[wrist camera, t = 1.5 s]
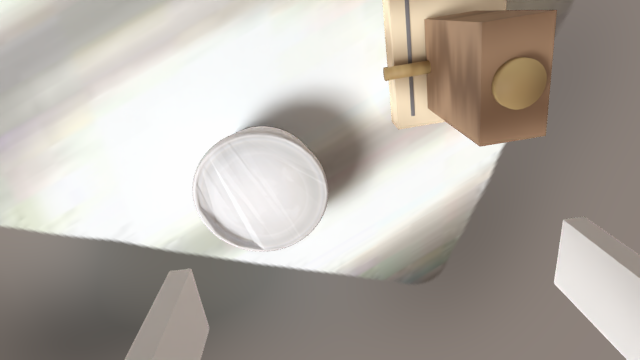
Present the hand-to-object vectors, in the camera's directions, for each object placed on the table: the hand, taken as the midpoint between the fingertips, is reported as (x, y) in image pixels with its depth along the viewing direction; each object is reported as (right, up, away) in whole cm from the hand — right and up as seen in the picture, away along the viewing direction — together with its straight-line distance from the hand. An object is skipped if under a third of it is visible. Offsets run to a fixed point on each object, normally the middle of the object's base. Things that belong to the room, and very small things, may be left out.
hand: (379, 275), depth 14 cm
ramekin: (-7, +4, +23) cm, 25 cm away
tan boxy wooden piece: (+7, +13, +17) cm, 22 cm away
